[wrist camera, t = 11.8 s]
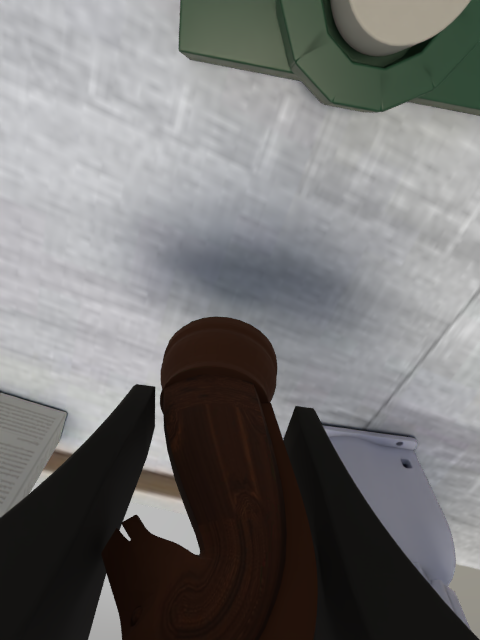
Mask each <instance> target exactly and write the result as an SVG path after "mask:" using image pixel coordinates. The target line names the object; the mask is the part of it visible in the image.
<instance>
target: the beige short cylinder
mask: <svg viewBox="0 0 480 640" xmlns="http://www.w3.org/2000/svg"><path fill="white" fill-rule="evenodd" d="M470 1H471V0H330V3H331V10H332V15H333V19H334V21H335V24H336V27H337V29H338V31H339V33H340V35H341V36H342V37H343V39H344V40H345V41H346V42H347V43H348V44H349V46H351V47H352V48H353V49H355V50H356V51H358V52H360V53H362V54H365V55H369V56H376V57H377V56H387V55H391V54H394V53H397V52H399V51H402V50H404V49H407V48H409V47H411V46H414V45H416V44H419V43H421V42H424V41H426V40H428V39H430V38H431V37H433V36H435V35H437V34H438V33H439V32H441V31H442V30H444V29H445V28H446V27H447V26H448V25H450V24H451V23H452V22H453V21H454V20H455V19H456V18H457V17H458V16H459V15H460V14H461V13H462V11H463V10H464V9H465V8H466V6H467V5H468V4H469V2H470Z"/></svg>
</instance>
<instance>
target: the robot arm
mask: <svg viewBox="0 0 480 640" xmlns="http://www.w3.org/2000/svg"><path fill="white" fill-rule="evenodd" d="M154 428H155V387H153V386H146V385H139V384H136V385H135V386H133V387H132V389H131V390H130V391H129V393H128V394H127V395H126V396H125V398H124V399H123V400H122V401H121V403H120V404H119V405H118V406H117V407H116V409H115V410H114V411H113V412H112V413H111V414H110V416H109V417H108V418H107V419H106V420H105V421H104V422H103V423H102V424H101V426H100V427H99V428H98V429H97V430H96V431H95V432H94V433H93V434H92V435H91V436H90V437H89V439H88V440H87V441H86V442H85V443H84V444H83V445H82V446H81V447H80V448H79V449H78V450H77V451H76V452H75V453H74V454H73V455H71V456H70V457H69V458H68V459H67V460H66V461H65V462H64V463H63V464H62V465H61V466H60V467H59V468H58V469H57V470H56V471H55V472H54V473H53V474H51V475H50V476H49V477H48V478H47V479H46V480H45V481H44V482H42V483H41V484H40V485H39V486H38V487H37V488H36V489H34V490H33V491H32V492H31V493H30V494H29V495H27V496H26V497H25V498H24V499H22V500H21V501H20V502H19V503H18V504H16V505H15V506H14V507H13V508H11V509H10V510H9V511H8V512H7V513H5V514H4V515H3V516H2V517H0V640H88V637H89V634H90V630H91V626H92V623H93V619H94V615H95V612H96V608H97V605H98V601H99V597H100V594H101V590H102V587H103V583H104V579H105V576H106V569H105V566H104V563H103V560H102V556H101V553H102V551H103V549H104V548H105V546H106V544H107V543H108V541H109V539H110V538H111V536H112V534H113V533H114V531H115V529H116V528H118V530H120V527H121V523H122V522H123V519H124V516H125V514H126V511H127V508H128V506H129V503H130V501H131V498H132V495H133V493H134V490H135V487H136V485H137V482H138V479H139V477H140V474H141V471H142V469H143V466H144V463H145V461H146V458H147V455H148V451H149V447H150V444H151V440H152V436H153V432H154ZM283 441H284V444H285V448H286V451H287V454H288V457H289V460H290V462H291V465H292V468H293V471H294V474H295V477H296V480H297V484H298V487H299V490H300V493H301V496H302V500H303V503H304V507H305V510H306V514H307V518H308V522H309V526H310V531H311V535H312V540H313V546H314V551H315V558H316V567H317V582H318V599H317V616H316V627H315V635H314V640H479V639H478V638H477V637H476V636H475V635H474V633H473V632H472V631H471V630H470V627H469V624H468V622H467V620H466V617H465V615H464V612H463V610H462V608H461V605H460V603H459V601H458V598H457V596H456V593H455V591H453V590H452V589H451V588H449V587H448V585H449V584H450V582H451V580H452V578H453V575H454V572H455V565H456V558H455V548H454V542H453V538H452V534H451V531H450V528H449V525H448V522H447V520H446V518H445V516H444V514H443V511H442V509H441V507H440V505H439V503H438V501H437V499H436V496H435V494H434V492H433V490H432V488H431V486H430V484H429V481H428V479H427V477H426V475H425V473H424V471H423V469H422V466H421V464H420V462H419V460H418V458H417V456H416V454H415V451H414V450H415V448H416V447H417V446H418V442H417V440H416V439H415V438H411V437H404V436H397V435H389V434H382V433H375V432H368V431H360V430H353V429H346V428H339V427H331V426H324V425H322V423H321V421H320V420H319V418H318V416H317V414H316V412H315V410H314V409H313V408H306V407H299V406H295V409H294V412H293V415H292V417H291V420H290V423H289V426H288V429H287V431H286V434H285V437H284V440H283Z"/></svg>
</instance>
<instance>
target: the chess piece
mask: <svg viewBox="0 0 480 640" xmlns="http://www.w3.org/2000/svg"><path fill="white" fill-rule="evenodd" d="M276 376H277V359H276V354H275V351H274V349H273V346H272V344H271V343H270V341H269V340H268V338H267V337H266V336H265V335H264V334H263V333H262V332H261V331H259V330H258V329H256V328H255V327H253V326H252V325H250V324H248V323H245V322H243V321H240V320H237V319H233V318H228V317H207V318H202V319H199V320H195V321H192V322H190V323H189V324H188V325H186V326H184V327H182V328H181V329H180V330H179V331H177V332H176V333H175V334H174V336H173V337H172V338H171V339H170V341H169V343H168V346H167V348H166V351H165V354H164V358H163V363H162V368H161V386H162V392H161V395H160V406H161V410H162V412H163V414H164V431H165V437H166V444H167V450H168V454H169V458H170V462H171V466H172V469H173V473H174V477H175V481H176V484H177V486H178V489H179V492H180V495H181V498H182V500H183V503H184V506H185V509H186V511H187V514H188V517H189V519H190V522H191V524H192V527H193V529H194V532H195V534H196V538H197V541H198V544H199V548H200V554H199V555H195V554H193V553H191V552H190V551H188V550H187V549H185V548H183V547H182V546H180V545H178V544H176V543H174V542H171V541H169V540H166V539H163V538H160V537H157V536H155V535H153V534H151V533H150V532H149V531H148V530H147V529H146V528H145V526H144V525H143V523H142V522H141V520H140V518H139V517H138V516H137V515H134V516H133V517H131V518H129V519H127V520H126V521H124V522H122V523H121V524H122V525H123V527H124V529H125V530H126V532H127V534H128V535H129V537H130V538H131V541H128V540H127V539H126V538H125V537H124V536H123V535H122V533H121V532H120V531H119V530H118V528H116V529H115V531H114V533H113V534H112V536H111V538H110V539H109V541H108V543H107V544H106V546H105V548H104V549H103V551H102V553H101V556H102V560H103V563H104V566H105V569H106V573H107V576H108V579H109V583H110V586H111V589H112V592H113V595H114V599H115V602H116V605H117V609H118V612H119V616H120V621H121V631H122V640H314V635H315V627H316V616H317V599H318V582H317V567H316V558H315V551H314V546H313V540H312V535H311V531H310V526H309V522H308V518H307V514H306V510H305V507H304V503H303V500H302V496H301V493H300V490H299V487H298V484H297V480H296V477H295V474H294V471H293V468H292V465H291V462H290V460H289V457H288V454H287V451H286V448H285V444H284V441H283V438H282V435H281V432H280V429H279V426H278V423H277V420H276V417H275V414H274V411H273V408H272V405H271V403H270V402H271V400H272V398H273V395H274V392H275V388H276Z"/></svg>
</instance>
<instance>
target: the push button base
mask: <svg viewBox="0 0 480 640" xmlns="http://www.w3.org/2000/svg"><path fill="white" fill-rule="evenodd" d="M179 51H180V52H181V53H182V54H184V55H185V56H186V57H187V58H189V59H190V60H195V61H200V62H205V63H210V64H216V65H221V66H226V67H231V68H236V69H241V70H247V71H252V72H257V73H262V74H267V75H272V76H278V77H283V78H288V79H293V80H298V81H301V82H302V83H303V84H304V85H305V86H306V87H307V88H308V89H309V90H310V91H311V92H312V94H313V95H314V96H315V97H316V98H317V99H318V100H319V101H320V102H321V103H324V104H325V105H328V106H334V107H339V108H344V109H349V110H355V111H360V112H384V111H386V110H388V109H391V108H393V107H396V106H398V105H401V104H403V103H405V102H412V103H417V104H422V105H427V106H432V107H438V108H443V109H448V110H453V111H458V112H463V113H469V114H474V115H479V116H480V0H471V1H470V2H469V4H468V5H467V6H466V8H465V9H464V10H463V11H462V13H461V14H460V15H459V16H458V17H457V18H456V19H455V20H454V21H453V22H452V23H451V24H450V25H448V26H447V27H446V28H445V29H444V30H442V31H441V32H439V33H438V34H437V35H435V36H433V37H431V38H430V39H428V40H426V41H424V42H421V43H419V44H416V45H414V46H411V47H409V48H407V49H404V50H402V51H399V52H397V53H394V54H391V55H387V56H377V57H376V56H369V55H365V54H362V53H360V52H358V51H356V50H355V49H353V48H352V47H351V46H349V44H348V43H347V42H346V41H345V40H344V39H343V37H342V36H341V35H340V33H339V31H338V29H337V27H336V24H335V21H334V19H333V15H332V10H331V3H330V0H181V2H180V26H179Z"/></svg>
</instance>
